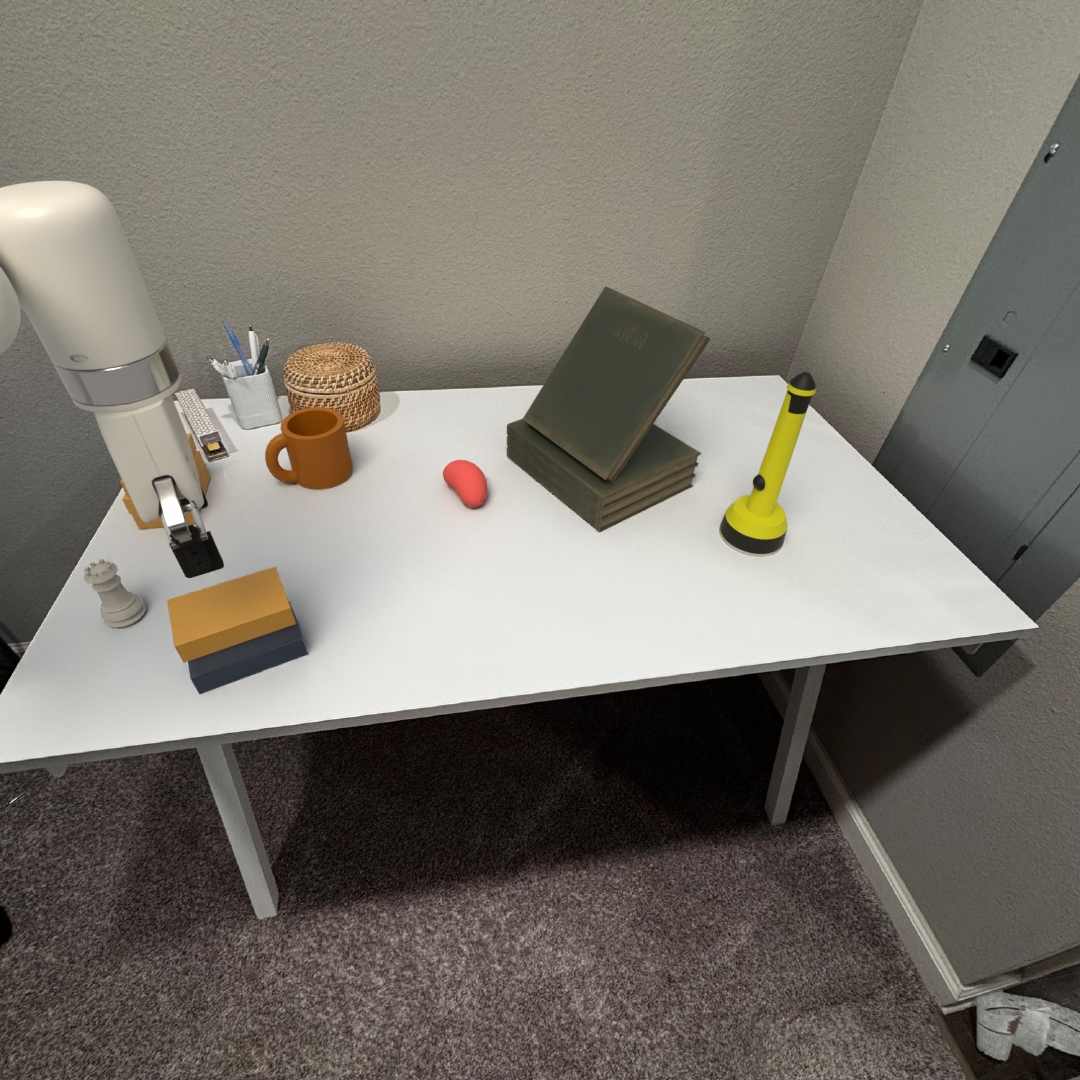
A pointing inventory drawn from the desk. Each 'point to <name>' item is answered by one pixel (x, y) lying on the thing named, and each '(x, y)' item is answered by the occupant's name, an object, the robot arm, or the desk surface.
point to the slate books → (247, 658)
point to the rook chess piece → (114, 595)
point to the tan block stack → (204, 482)
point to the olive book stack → (611, 414)
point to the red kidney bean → (466, 482)
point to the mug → (312, 449)
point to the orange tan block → (229, 614)
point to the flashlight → (769, 481)
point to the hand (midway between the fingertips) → (198, 539)
